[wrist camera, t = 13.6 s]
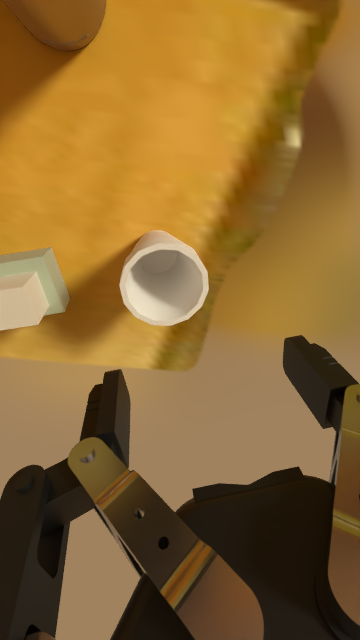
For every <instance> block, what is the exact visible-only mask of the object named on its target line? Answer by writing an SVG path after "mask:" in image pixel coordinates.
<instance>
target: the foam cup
mask: <svg viewBox="0 0 360 640" xmlns="http://www.w3.org/2000/svg"><path fill="white" fill-rule="evenodd" d="M119 286H120V290H121V294H122V298H123V302H124V304H125V306H126V307H127V308H128V309H129V310H130V311H131V313H132V314H133V315H134V316H135V317H136V318H138V319H140V320H143V321H145V322H147V323H149V324H151V325H170V326H171V325H174V324H176V323H179V322H182V321H184V320H187V319H189V318H190V317H191V316H192V315H193V314H194V313H195V312H196V311H197V310H199V309H200V308H201V307H202V305H203V302H204V300H205V297H206V295H207V293H208V290H209V288H208V273H207V270H206V268H205V267H204V265H203V264H202V262H201V260H200V259H199V257H198V255H197V254H196V252H195V251H194V249H193V248H191V247H190V246H188V245H186V244H185V243H183V242H181V241H180V240H178V239H176V238H175V237H173V236H172V235H170V234H168V233H167V232H165V231H160V230H153V231H150V232H148V233H145V234H144V235H143V236H142V237H141V238H140V239H139V240H138V242H137V243H136V245H135V247H134V249H133V250H132V252H131V253H130V254H129V255H128V257H127V258H126V259H125V262H124V266H123V269H122V273H121V277H120V284H119Z"/></svg>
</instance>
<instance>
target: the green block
mask: <svg viewBox="0 0 360 640" xmlns="http://www.w3.org/2000/svg"><path fill="white" fill-rule="evenodd" d="M35 271H36V273H37V275H38V278H39V280H40V283H41V286H42V288H43V291H44V293H45V296H46V299H47V301H48V304H49V307H48V309H47V311H46V312H45V314H44V316H45V315H50V314H56V313H62V312H65V309H66V307H67V305H68V303H69V301H70V296H69V294H68V291H67V288H66V286H65V283H64V280H63V277H62V275H61V272H60V269H59V266H58V264H57V261H56V258H55V256H54V253H53V250H52V247H49V248H43V249H37V250H31V251H25V252H19V253H13V254H7V255H0V276H7V275H14V274H21V273H28V272H35Z"/></svg>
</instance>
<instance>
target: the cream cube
mask: <svg viewBox="0 0 360 640" xmlns="http://www.w3.org/2000/svg"><path fill="white" fill-rule="evenodd" d="M48 307H49V304H48V301H47V299H46V296H45V293H44V291H43V288H42V286H41V283H40V280H39V278H38V275H37V273H36V271H35V272H28V273H21V274H14V275H7V276H0V330H7V329H13V328H20V327H26V326H33V325H38V324H39V323H40V321H41V319H42V318H43V316H44V314H45V312H46V311H47V309H48Z"/></svg>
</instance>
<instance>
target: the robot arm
mask: <svg viewBox="0 0 360 640" xmlns="http://www.w3.org/2000/svg"><path fill="white" fill-rule="evenodd" d="M3 1H4V2H5V4H6V5H7V6H8V7H9V8H10V9H11V11H12V12H13V13H14V14H15V15H16V16H17V18H18V19H19V20H20V21H21V22H22V23H23V24H24V26H25V27H26V28H27V29H28V30H29V31H30V32H31V33H32V35H33V36H35V37H36V38H37V39H38V40H40V41H41V42H42V43H44V44H46V45H48V46H50V47H51V48H54V49H58V50H62V51H73V50H77V49H80V48H82V47H84V46H85V45H87V44H88V43H90V41H91V40H92V39H93V38H94V37H95V36H96V34H97V32H98V31H99V29H100V27H101V24H102V21H103V18H104V14H105V5H106V0H3ZM283 367H284V371H285V374H286V375H287V377H288V378H289V380H290V381H291V383H292V384H293V386H294V387H295V388H296V390H297V392H298V393H299V394H300V396H301V397H302V399H303V400H304V402H305V403H306V404H307V406H308V408H309V409H310V411H311V412H312V413H313V415H314V416H315V418H316V419H317V421H318V422H319V424H320V425H321V427H322V428H323V429H325V428H330V427H333V428H334V429H335V431H336V435H335V441H334V448H333V456H332V465H331V471H330V478H329V482H327V481H325V480H323V479H320V478H316V477H312V476H306V475H303V474H302V472H301V470H300V468H299V467H294V468H289V469H285V470H280V471H275V472H272V473H270V474H268V475H267V476H264V477H263V478H261V479H259V480H257V481H255V482H253V483H251V484H249V485H238V484H214V485H209V486H204V487H200V488H195V489H193V496H194V498H192V499H190V500H189V501H187V502H186V503H184V504H183V505H182V506H181V507H180V508H179V509H178V510H177V511H176V512H174V511H173V510H172V509H171V508H170V507H169V506H168V505H167V504H166V503H165V502H164V501H163V499H162V498H161V497H160V496H159V495H158V494H157V493H156V492H155V491H154V490H153V489H152V488H151V487H150V486H149V485H148V483H147V482H146V481H145V480H144V479H143V478H142V477H141V476H140V475H139V474H138V473H137V472H136V471H134V470H133V471H130V470H129V469H128V468H129V437H130V436H129V435H130V397H129V392H128V389H127V386H126V382H125V379H124V376H123V373H122V371H121V369H119V370H113V371H108V372H105V374H104V379H103V384H98V385H95V386H94V388H93V389H92V391H91V392H90V394H89V398H88V402H87V403H88V405H87V407H86V413H85V417H84V422H83V427H82V432H81V437H80V442H79V443H77V444H76V445H75V446H74V448H72V450H71V452H70V453H69V456H68V458H66V459H65V460H63V461H61V462H59V463H57V464H55V465H53V466H51V467H49V468H47V469H45V470H44V469H43V468H42V467H41V466H38V465H30V466H27V467H25V468H22V469H21V470H19V471H18V472H16V473H15V474H14V475H13V476H12V477H11V478H10V479H9V481H8V482H7V484H6V485H5V488H4V490H3V493H2V496H1V499H0V640H55V634H56V627H57V619H58V611H59V603H60V595H61V588H62V581H63V572H64V565H65V557H66V550H67V542H68V534H69V527H70V521H72V520H74V519H76V518H77V517H79V516H81V515H83V514H84V513H86V512H88V511H90V510H91V509H94V510H95V512H96V513H97V514H98V516H99V517H100V519H101V520H102V522H103V523H104V524H105V526H106V528H107V529H108V530H109V532H110V533H111V535H112V536H113V538H114V539H115V540H116V542H117V544H118V545H119V547H120V548H121V550H122V552H123V553H124V554H125V556H126V558H127V559H128V561H129V562H130V564H131V565H132V567H133V568H134V570H135V571H136V572H137V574H138V575H139V577H140V580H139V582H138V585H137V587H136V588H135V590H134V592H133V594H132V596H131V599H130V601H129V603H128V605H127V607H126V609H125V611H124V613H123V615H122V617H121V619H120V621H119V623H118V625H117V627H116V629H115V631H114V633H113V635H112V637H111V639H110V640H360V384H359V383H358V382H357V381H356V380H355V379H354V378H353V377H352V376H351V375H350V374H349V373H348V372H347V371H346V370H345V369H344V368H343V367H342V366H341V365H340V364H339V363H338V362H337V361H336V360H335V359H334V358H333V357H332V356H331V354H330V353H329V352H327V350H326V349H324V348H322V347H321V346H319V345H317V344H315V343H314V344H310V343H309V342H308V341H307V340H306V339H305V338H304V337H303V336H302V335H300V336H294V337H289V338H285V341H284V352H283Z"/></svg>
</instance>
